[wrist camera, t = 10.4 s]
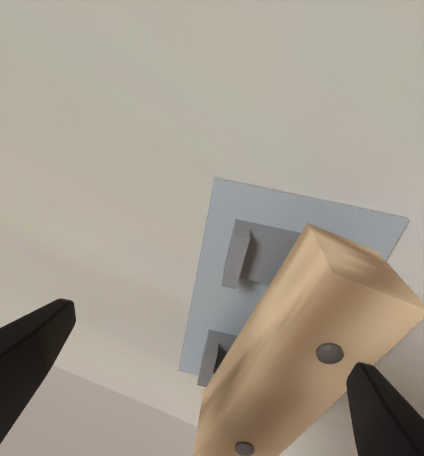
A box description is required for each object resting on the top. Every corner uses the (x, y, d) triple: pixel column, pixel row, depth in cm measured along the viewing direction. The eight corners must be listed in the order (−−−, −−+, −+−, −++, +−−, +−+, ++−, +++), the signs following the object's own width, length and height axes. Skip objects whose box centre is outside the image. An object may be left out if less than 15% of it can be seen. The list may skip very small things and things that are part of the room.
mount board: (406, 217, 17) (435, 238, 15) (305, 396, 26) (312, 429, 24) (214, 177, 18) (209, 190, 15) (179, 367, 27) (171, 396, 24)
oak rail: (376, 251, 15) (433, 314, 11) (249, 409, 23) (250, 486, 19) (307, 222, 15) (334, 275, 11) (202, 392, 23) (191, 465, 18)
